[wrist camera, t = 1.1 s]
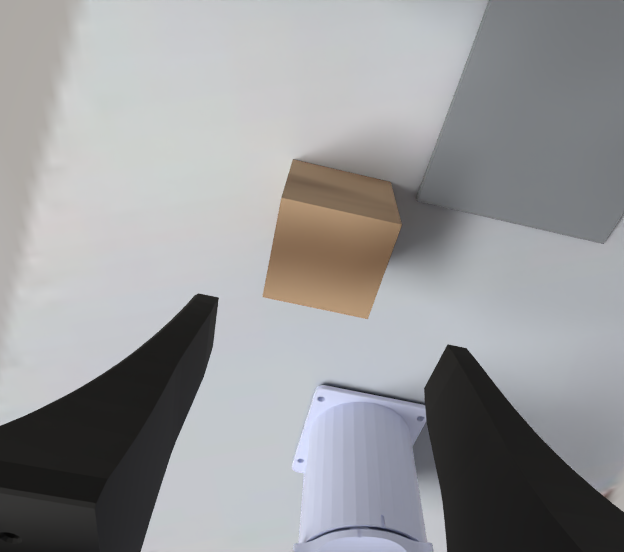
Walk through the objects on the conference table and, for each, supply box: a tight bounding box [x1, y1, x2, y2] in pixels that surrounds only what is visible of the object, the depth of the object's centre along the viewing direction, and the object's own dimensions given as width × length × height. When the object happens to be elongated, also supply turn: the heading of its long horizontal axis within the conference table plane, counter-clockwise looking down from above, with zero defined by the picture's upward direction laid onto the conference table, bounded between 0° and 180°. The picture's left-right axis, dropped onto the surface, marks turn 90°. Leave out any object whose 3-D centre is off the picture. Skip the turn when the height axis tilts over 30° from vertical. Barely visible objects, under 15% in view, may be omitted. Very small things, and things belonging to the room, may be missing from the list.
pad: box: [416, 0, 624, 244], centre depth 20 cm, size 10×10×1 cm
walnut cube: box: [263, 159, 402, 319], centre depth 21 cm, size 5×5×5 cm
